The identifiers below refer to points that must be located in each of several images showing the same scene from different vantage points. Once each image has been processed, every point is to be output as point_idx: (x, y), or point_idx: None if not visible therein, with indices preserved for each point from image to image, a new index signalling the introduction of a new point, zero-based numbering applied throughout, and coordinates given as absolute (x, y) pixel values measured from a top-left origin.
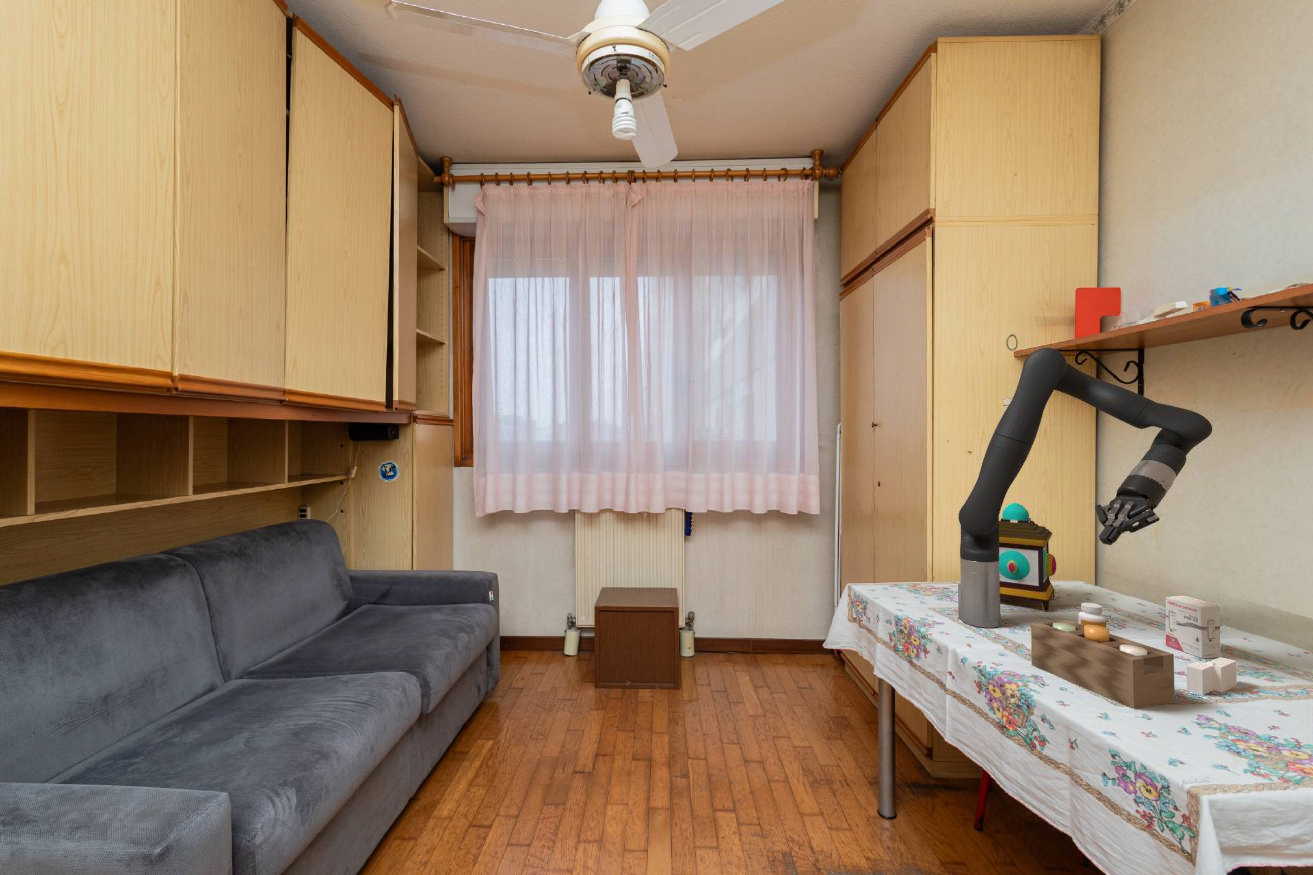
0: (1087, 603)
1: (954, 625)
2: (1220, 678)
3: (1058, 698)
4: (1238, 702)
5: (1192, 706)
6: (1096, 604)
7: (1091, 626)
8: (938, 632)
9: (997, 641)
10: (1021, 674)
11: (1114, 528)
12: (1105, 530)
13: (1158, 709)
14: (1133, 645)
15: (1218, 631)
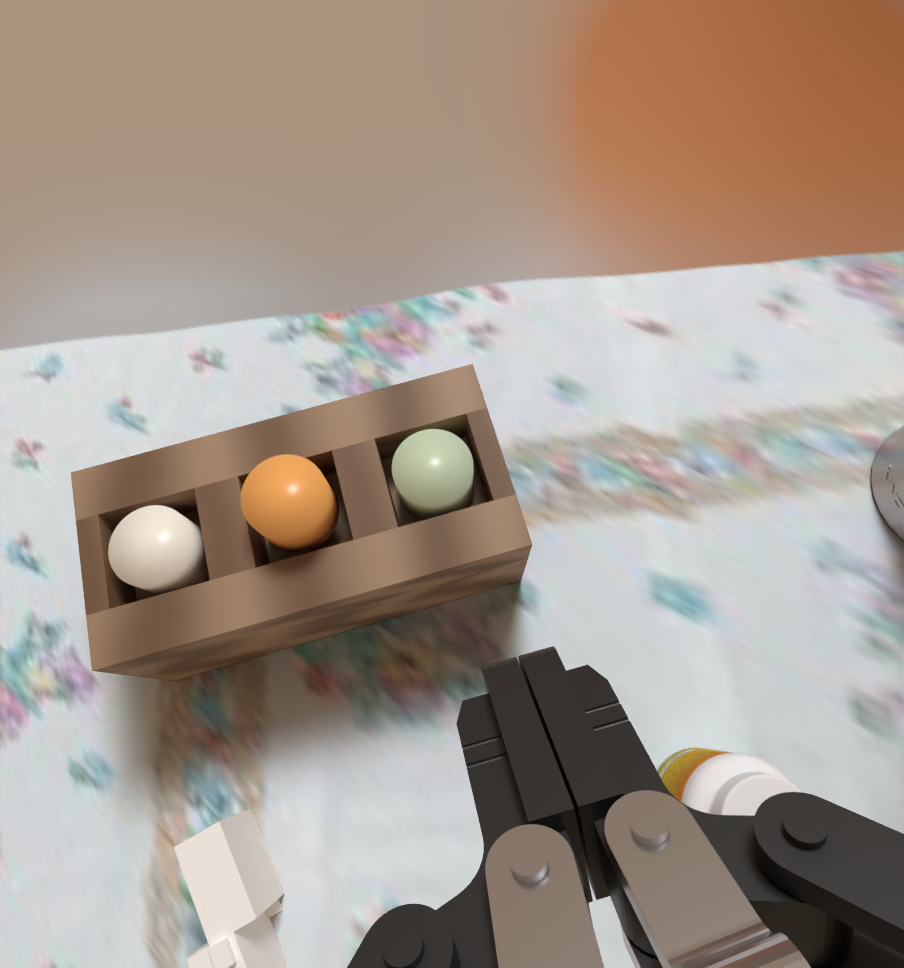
0: None
1: (884, 373)
2: (205, 944)
3: (235, 368)
4: (146, 909)
5: (142, 713)
6: None
7: (305, 488)
8: (782, 286)
9: (704, 441)
10: (399, 361)
11: (527, 822)
12: (575, 728)
13: None
14: (198, 587)
15: None
